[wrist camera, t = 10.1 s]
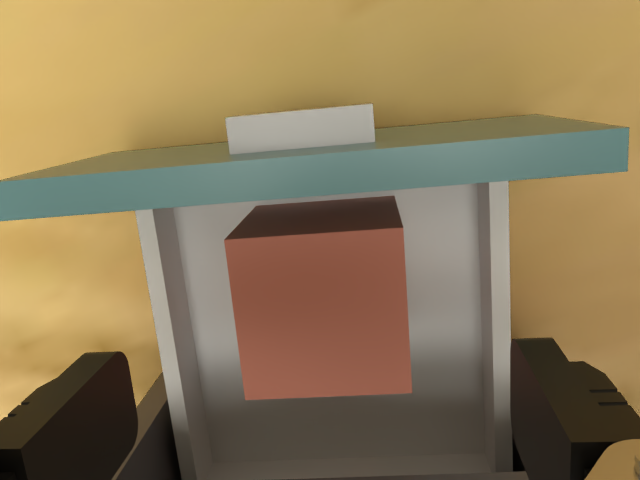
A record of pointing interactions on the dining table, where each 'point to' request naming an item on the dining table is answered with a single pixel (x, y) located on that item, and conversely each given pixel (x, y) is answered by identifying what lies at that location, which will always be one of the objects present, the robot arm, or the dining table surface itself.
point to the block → (321, 299)
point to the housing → (162, 461)
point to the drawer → (420, 262)
